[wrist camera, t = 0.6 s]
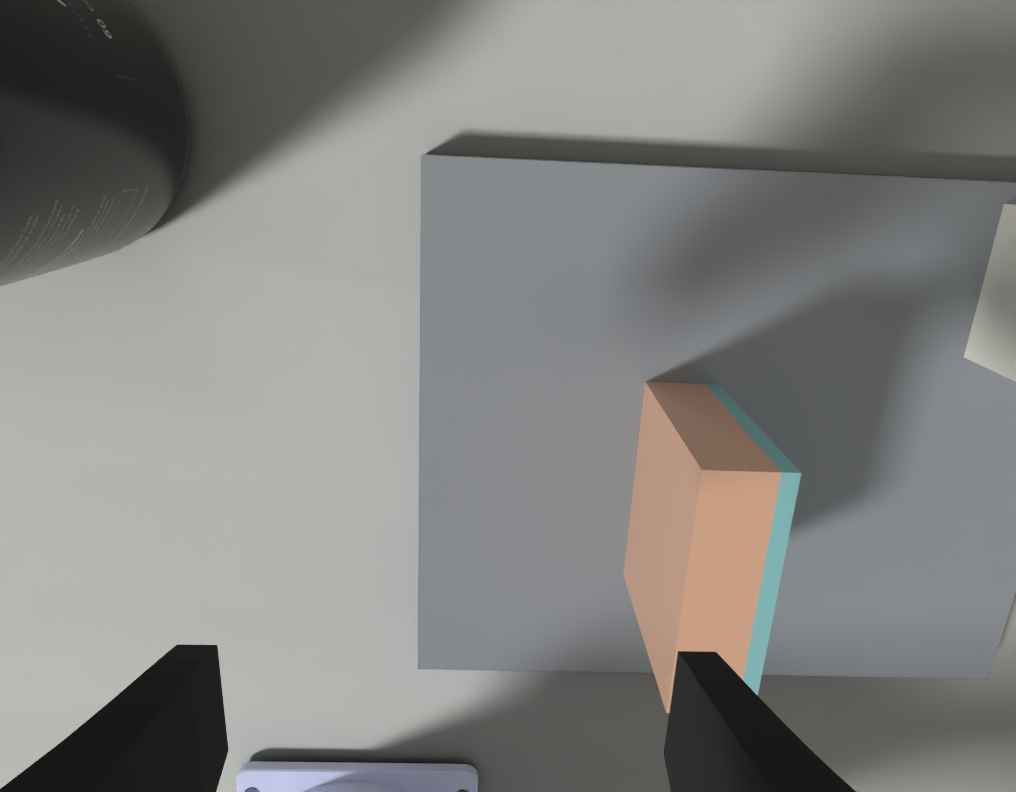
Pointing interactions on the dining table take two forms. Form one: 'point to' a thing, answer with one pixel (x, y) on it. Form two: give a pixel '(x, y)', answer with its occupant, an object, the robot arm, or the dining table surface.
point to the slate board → (747, 380)
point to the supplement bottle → (83, 132)
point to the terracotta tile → (706, 530)
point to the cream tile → (997, 304)
